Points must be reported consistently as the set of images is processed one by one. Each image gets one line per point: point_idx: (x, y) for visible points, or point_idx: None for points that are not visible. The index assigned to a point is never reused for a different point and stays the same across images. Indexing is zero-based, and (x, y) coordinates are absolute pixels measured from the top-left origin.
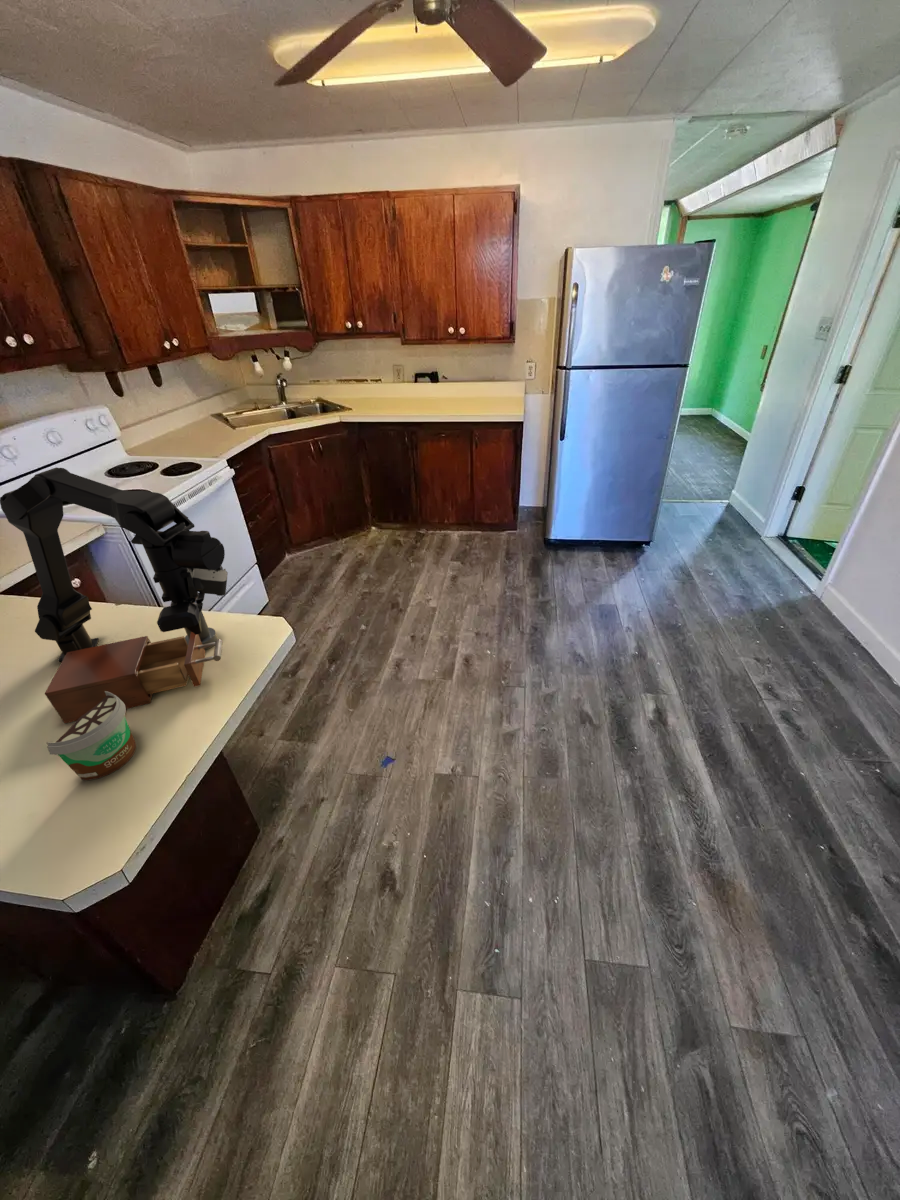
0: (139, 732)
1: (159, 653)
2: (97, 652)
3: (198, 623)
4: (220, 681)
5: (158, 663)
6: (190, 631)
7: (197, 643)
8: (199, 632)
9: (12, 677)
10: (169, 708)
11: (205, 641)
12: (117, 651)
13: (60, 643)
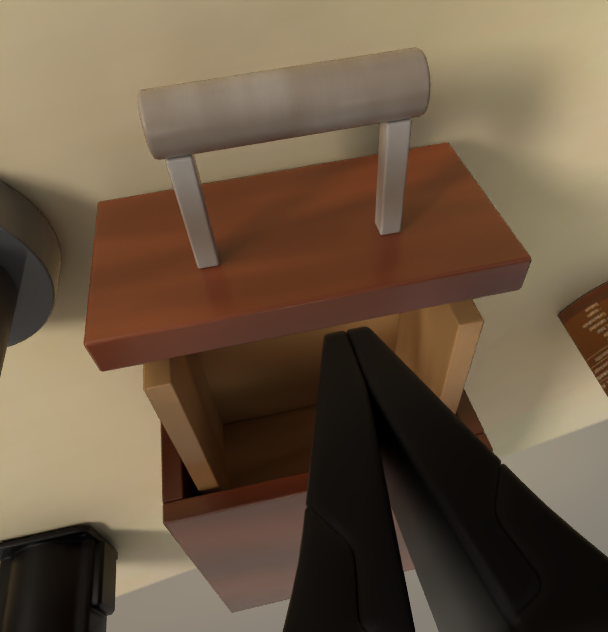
0: (571, 283)
1: (205, 408)
2: (262, 574)
3: (482, 445)
4: (417, 22)
5: (217, 374)
6: (2, 363)
7: (199, 283)
8: (376, 344)
9: (170, 574)
10: None
11: (6, 235)
12: (277, 543)
13: (106, 614)
